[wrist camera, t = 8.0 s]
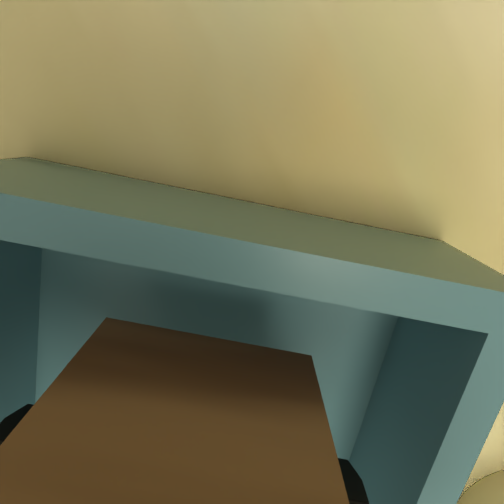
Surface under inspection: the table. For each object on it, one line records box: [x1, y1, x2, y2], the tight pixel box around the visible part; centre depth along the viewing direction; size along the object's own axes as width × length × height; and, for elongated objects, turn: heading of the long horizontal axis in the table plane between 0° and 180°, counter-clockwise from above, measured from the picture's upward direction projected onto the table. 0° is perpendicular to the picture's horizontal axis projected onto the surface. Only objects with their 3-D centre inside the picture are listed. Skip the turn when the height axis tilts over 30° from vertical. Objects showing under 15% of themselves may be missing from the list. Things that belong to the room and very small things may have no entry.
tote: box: [0, 157, 504, 504], centre depth 13 cm, size 18×14×5 cm
